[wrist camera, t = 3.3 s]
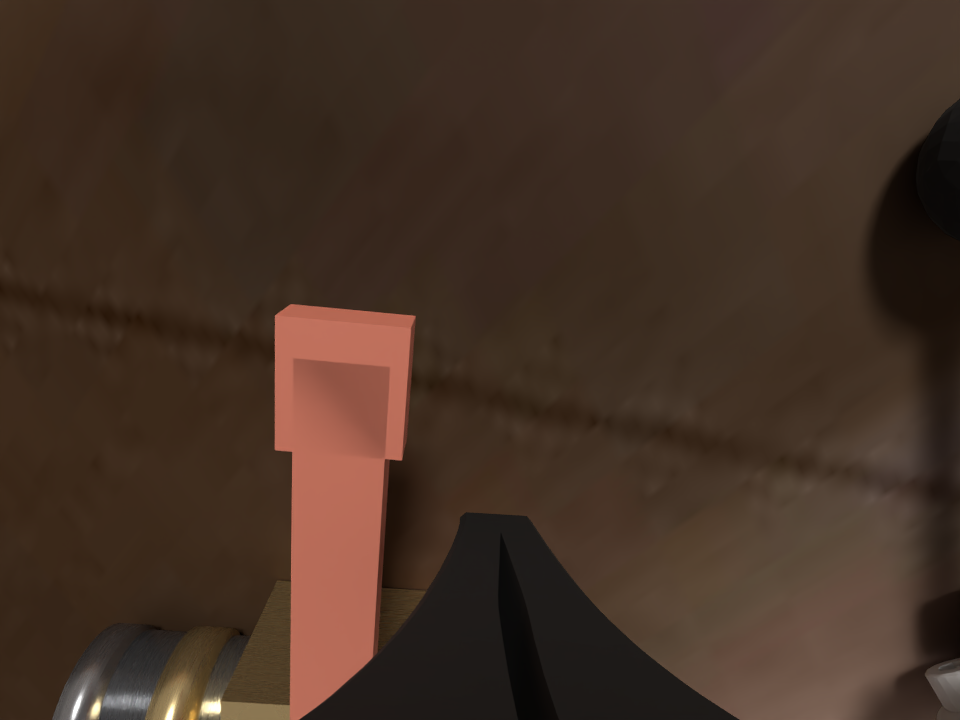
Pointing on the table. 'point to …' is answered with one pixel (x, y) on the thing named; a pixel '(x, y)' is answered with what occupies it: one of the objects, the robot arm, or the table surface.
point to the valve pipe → (200, 667)
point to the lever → (338, 481)
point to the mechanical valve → (956, 211)
